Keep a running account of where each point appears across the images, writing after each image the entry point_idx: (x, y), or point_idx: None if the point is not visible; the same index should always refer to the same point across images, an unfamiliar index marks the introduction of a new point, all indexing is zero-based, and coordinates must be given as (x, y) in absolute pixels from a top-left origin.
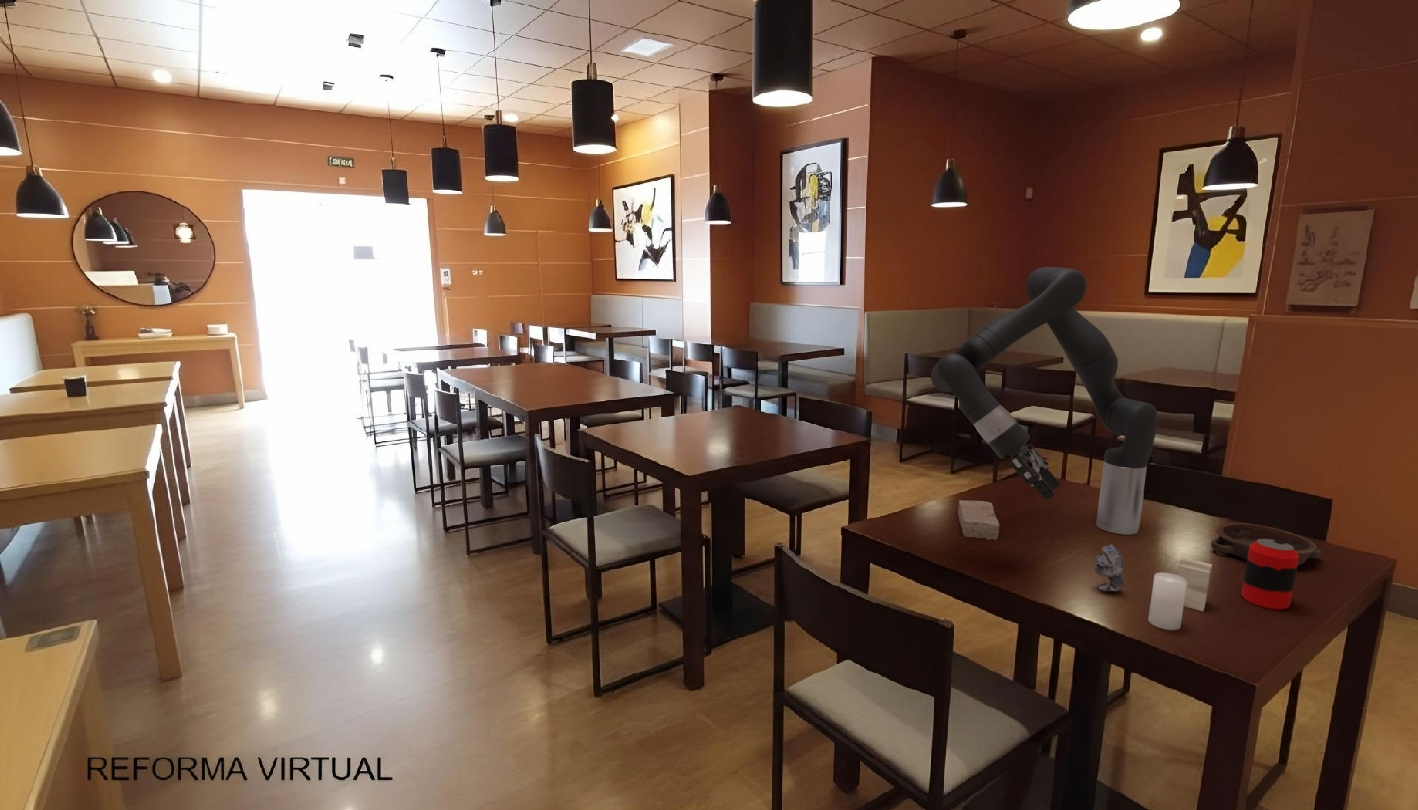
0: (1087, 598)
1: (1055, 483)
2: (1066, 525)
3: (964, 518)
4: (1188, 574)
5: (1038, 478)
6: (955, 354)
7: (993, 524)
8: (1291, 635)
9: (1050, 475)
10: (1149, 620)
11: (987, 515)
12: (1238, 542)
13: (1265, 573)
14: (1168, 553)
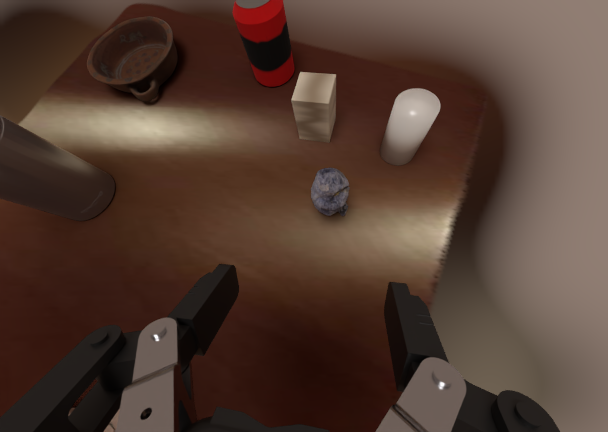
0: (374, 230)
1: (229, 281)
2: (89, 262)
3: None
4: (331, 100)
5: (518, 398)
6: None
7: None
8: (350, 60)
9: (208, 306)
10: (404, 163)
11: (109, 429)
12: (154, 67)
13: (285, 37)
14: (169, 142)
